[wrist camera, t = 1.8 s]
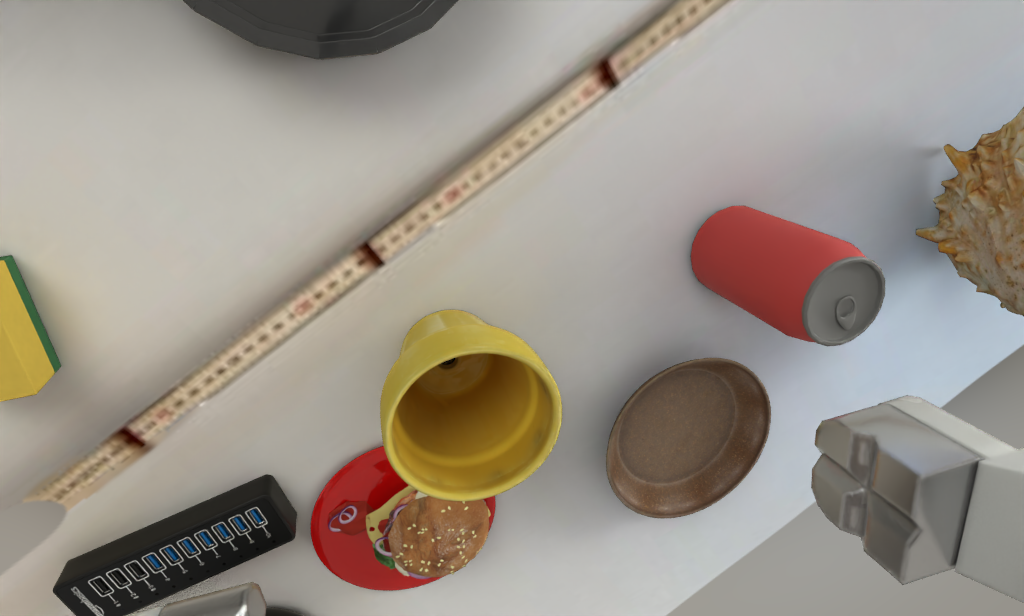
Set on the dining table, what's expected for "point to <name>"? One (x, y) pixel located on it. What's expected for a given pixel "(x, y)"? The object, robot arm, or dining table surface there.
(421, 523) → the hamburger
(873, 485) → the robot arm
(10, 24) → the dining table surface
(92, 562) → the multiport hub
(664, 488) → the saucer
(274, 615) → the spray bottle
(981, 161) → the seashell
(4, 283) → the sponge
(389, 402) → the flower pot
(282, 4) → the pan
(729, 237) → the beer can
